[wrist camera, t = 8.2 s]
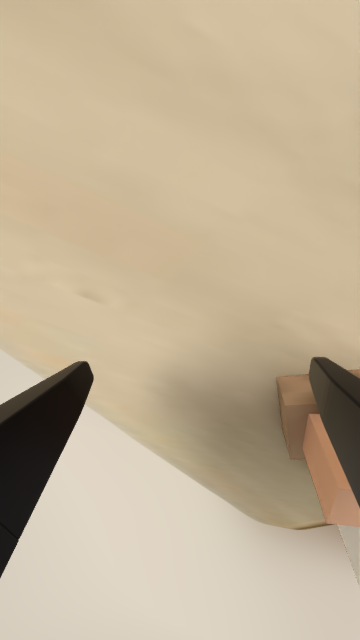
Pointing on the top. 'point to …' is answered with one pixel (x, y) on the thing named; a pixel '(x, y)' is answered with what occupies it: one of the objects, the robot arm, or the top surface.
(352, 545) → the milk carton
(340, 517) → the terracotta cube
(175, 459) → the top surface
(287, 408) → the walnut block
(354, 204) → the top surface
